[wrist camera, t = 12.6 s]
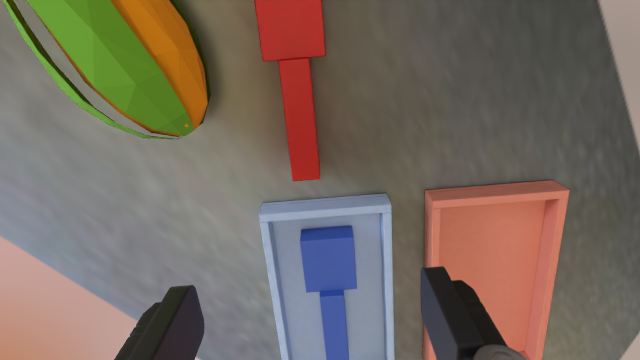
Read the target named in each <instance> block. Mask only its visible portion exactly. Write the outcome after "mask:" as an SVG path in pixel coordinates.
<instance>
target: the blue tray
mask: <svg viewBox="0 0 640 360" xmlns="http://www.w3.org/2000/svg"><path fill="white" fill-rule="evenodd" d="M391 211H392V206H391V203H390V200H389V198H388V195H387V193H384V194H371V195H359V196H346V197H334V198H321V199H309V200H296V201H284V202H271V203H262V206H261V209H260V212H259V221H260V227H261V233H262V240H263V246H264V252H265V258H266V264H267V271H268V277H269V283H270V289H271V295H272V302H273V308H274V314H275V320H276V326H277V333H278V339H279V345H280V351H281V357H282V360H326V352H325V343H324V333H323V324H322V315H321V306H320V292H309V293H306V287H305V279H304V271H303V263H302V254H301V246H300V236H301V229H313V228H326V227H339V226H352V230H353V235H354V248H355V263H356V279H357V289H350V290H344V299H345V312H346V325H347V337H348V350H349V360H395V355H394V306H393V257H392V213H391Z"/></svg>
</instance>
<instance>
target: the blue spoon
mask: <svg viewBox="0 0 640 360" xmlns="http://www.w3.org/2000/svg"><path fill="white" fill-rule="evenodd" d="M300 246H301V254H302V263H303V271H304V279H305V287H306V293H309V292H320V306H321V315H322V324H323V333H324V343H325V352H326V360H349V350H348V337H347V325H346V312H345V299H344V290H350V289H357V279H356V263H355V248H354V235H353V230H352V226H339V227H326V228H313V229H301V236H300Z"/></svg>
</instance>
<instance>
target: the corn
mask: <svg viewBox="0 0 640 360" xmlns="http://www.w3.org/2000/svg"><path fill="white" fill-rule="evenodd" d="M3 2H4V4H5V6H6V7H7V9H8V11H9V13H10V15H11V17H12V19H13V21H14V22H15V24H16V26H17V28H18V30H19V32H20V34H21V36H22V37H23V38H24V40H25V41H26V43H27V44H28V45H29V47H30V48H31V49H32V51H33V52H34V53H35V55H36V56H37V58H38V59H39V60H40V62H41V63H42V64H43V66H44V67H45V69H46V70H47V71H48V73H49V74H50V75H51V77H52V78H53V79H54V81H55V82H56V84H57V85H58V86H59V88H60V89H61V90H62V91H64V92H65V93H66V94H67V95H68V96H69V97H70V98H71V99H72V100H73V101H74V102H75V103H76V104H78V105H79V106H80V107H81V108H83V109H84V110H86V111H87V112H89V113H91V114H92V115H94V116H95V117H97V118H99V119H100V120H102V121H103V122H105V123H106V124H108V125H111V126H113V127H116V128H118V129H121V130H124V131H126V132H129V133H132V134H134V135H137V136H139V137H142V138H156V139H172V138H164V137H155V136H147V135H144V134H141V133H139V132H136V131H134V130H132V129H129V128H127V127H125V126H123V125H120V124H118V123H116V122H115V121H113V120H112V119H110V118H109V117H107V116H106V115H105V114H103V113H102V112H100V111H99V110H97V109H96V108H94V107H93V105H92V104H91V103H90V102H89V101H88V100H87V99H86V98H85V97H84V96H83V94H82V93H81V92H80V91H79V90H78V89H77V88H76V87H75V86H74V84H73V83H72V82H71V81H70V80H69V79H68V78H67V77H66V76H65V75H64V73H63V72H62V71H61V70H60V69H59V68H58V67H57V66H56V65H55V63H54V62H53V61H52V59H51V58H50V56H49V55H48V54H47V52H46V51H45V49H44V48H43V46H42V45H41V43H40V42H39V41H38V39H37V38H36V36H35V35H34V33H33V32H32V31H31V29H30V28H29V26H28V25H27V23H26V21H25V20H24V18H23V16H22V15H21V13H20V11H19V9H18V8H17V6H16V4H15V3H14V1H13V0H3ZM27 2H28V3H29V4H30V6H31V7H32V8H33V10H34V11H35V13H36V14H37V15H38V17H39V18H40V20H41V21H42V22H43V24H44V25H45V27H46V28H47V29H48V31H49V32H50V34H51V35H52V36H53V38H54V39H55V41H56V42H57V43H58V45H59V46H60V48H61V49H62V50H63V52H64V53H65V55H66V56H67V57H68V59H69V60H70V62H71V63H72V65H73V66H74V67H75V69H76V70H77V72H78V73H79V74H80V76H81V77H82V79H83V80H84V81H85V83H87V84H88V85H89V86H90V87H91V88H92V89H93V90H94V91H96V92H97V93H98V94H99V95H100V96H101V97H102V98H103V99H105V100H106V101H107V102H108V103H109V104H110V105H111V106H112V107H114V108H115V109H116V110H117V111H118V112H119V113H121V114H122V115H124V116H125V117H127V118H129V119H130V120H132V121H133V122H135V123H137V124H138V125H140V126H141V127H143V128H145V129H146V130H148V131H149V132H151V133H157V134H163V135H170V136H176V137H179V136H181V135H182V136H185V135H187V134H189V133H191V132H192V131H193V130H195V129H196V128H197V127H198V126H199V125H201V124H202V123H203V120H204V116H205V113H206V109H207V106H208V102H209V99H210V95H211V93H210V84H209V76H208V68H207V62H206V59H205V56H204V54H203V51H202V48H201V46H200V43H199V40H198V38H197V35H196V33H195V30H194V29H193V27H192V25H191V24H190V22H189V20H188V19H187V17H186V15H185V14H184V12H183V10H182V8H181V7H180V5H179V3H178V2H177V0H27ZM178 139H179V138H178Z"/></svg>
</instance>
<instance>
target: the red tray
mask: <svg viewBox="0 0 640 360" xmlns="http://www.w3.org/2000/svg"><path fill="white" fill-rule="evenodd" d="M568 197H569V190H568V189H566V188H565V187H563V186H562V185H560V184H558V183H556V182H555V181H553V180H547V181H535V182H522V183H509V184H497V185H484V186H472V187H459V188H447V189H434V190H425V246H424V268H427V267H439V266H444V267H445V269H446V271H447V272H448V274H449V276H450V278H451V280H452V281H453V280H463V281H464V282H465V283H466V284H468V285H469V286H470V287H472V288H473V289H474V290H475V292H476V294H477V295H478V297H479V299H480V302H482V304H483V306H484V307H485V309H486V312H488V314H489V316H490V317H491V319H492V321H493V322H494V324H495V326H496V327H497V329H498V331H499V332H500V334H501V336H502V337H503V339H504V341H505V343H506V344H507V346H508V347H510V348H512V349H514V350H516V351H518V352H519V353H520V354H522V355H523V356H524V357H525V358H526V359H527V360H542V355H543V349H544V343H545V337H546V331H547V325H548V319H549V313H550V307H551V301H552V294H553V288H554V282H555V276H556V270H557V264H558V258H559V252H560V246H561V239H562V233H563V227H564V221H565V215H566V209H567V203H568ZM423 360H437V358H436V355H435V353H434V350H433V347H432V344H431V341H430V339H429V336H428V333H427V330H426V327H425V324H424V321H423Z"/></svg>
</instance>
